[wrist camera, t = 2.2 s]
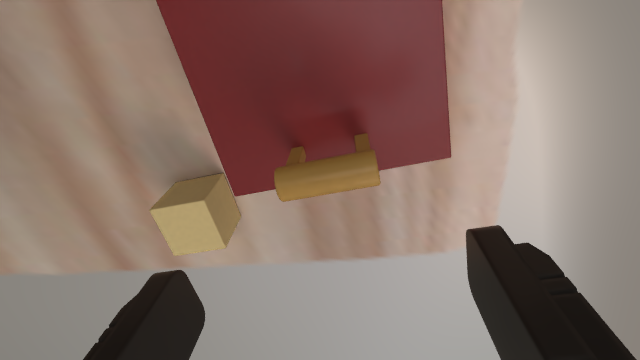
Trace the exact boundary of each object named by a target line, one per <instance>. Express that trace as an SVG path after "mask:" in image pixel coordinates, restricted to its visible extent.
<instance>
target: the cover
mask: <svg viewBox="0 0 640 360" xmlns="http://www.w3.org/2000/svg"><path fill="white" fill-rule="evenodd" d="M156 2H157V4H158V6H159V9H160V11H161V14H162V16H163V19H164V21H165V24H166V26H167V29H168V31H169V34H170V36H171V39H172V41H173V44H174V46H175V49H176V51H177V54H178V56H179V59H180V61H181V64H182V66H183V69H184V71H185V74H186V76H187V78H188V81H189V83H190V86H191V88H192V91H193V93H194V96H195V98H196V101H197V103H198V106H199V108H200V111H201V113H202V116H203V118H204V121H205V123H206V126H207V128H208V131H209V133H210V136H211V138H212V141H213V143H214V146H215V148H216V150H217V153H218V155H219V158H220V160H221V163H222V165H223V168H224V170H225V173H226V175H227V178H228V180H229V183H230V185H231V188H232V190H233V193H234V195H235V196H240V195H246V194H251V193H257V192H263V191H268V190H274V189H276V192H277V195H278V197H279V199H280V200H281V201H283V202H286V201H291V200H297V199H303V198H309V197H314V196H320V195H326V194H332V193H337V192H343V191H349V190H355V189H360V188H366V187H372V186H378V185H380V176H379V170H384V169H390V168H395V167H401V166H406V165H412V164H418V163H423V162H429V161H434V160H440V159H445V158H450V157H451V145H450V128H449V111H448V94H447V77H446V60H445V43H444V26H443V9H442V0H156Z"/></svg>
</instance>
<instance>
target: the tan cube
mask: <svg viewBox="0 0 640 360" xmlns="http://www.w3.org/2000/svg"><path fill="white" fill-rule="evenodd" d="M149 211H150V213H151V214H152V216H153V218H154V220H155V222H156V224H157V225H158V227H159V229H160V231H161V233H162V234H163V236H164V238H165V240H166V242H167V244H168V245H169V247H170V249H171V251H172V253H173V254H174V256H178V255H184V254H191V253H197V252H204V251H210V250H217V249H223V248H226V246H227V244H228V242H229V240H230V238H231V236H232V234H233V232H234V230H235V228H236V226H237V224H238V222H239V220H240V218H241V215H240V213H239V210H238V208H237V205H236V203H235V200H234V198H233V195H232V193H231V190H230V188H229V186H228V183H227V181H226V178H225V176H224V173H222V174H217V175H212V176H206V177H201V178H196V179H191V180H186V181H181V182H176V183H175V184H174V185H173V186H172V187H171V188H170V189H169V190H168V191H167V192H166V193H165V194H164V195H163V196H162V197H161V198H160V200H159V201H158V202H157V203H156V204H155V205H154V206H153V207H152V208H151V209H150V210H149Z"/></svg>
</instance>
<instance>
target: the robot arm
mask: <svg viewBox="0 0 640 360" xmlns="http://www.w3.org/2000/svg"><path fill="white" fill-rule="evenodd" d="M466 248H467V270H468V280H469V285H470V289H471V292H472V295H473V298H474V300H475V302H476V305H477V307H478V309H479V311H480V314H481V316H482V318H483V320H484V323H485V325H486V327H487V329H488V332H489V334H490V336H491V338H492V340H493V343H494V345H495V347H496V349H497V352H498V354H499V356H500V358H501V360H636V359H635V357H634V356H633V355H632V354H631V353H630V352H629V350H628V349H627V348H626V347H625V346H624V345H623V343H622V342H621V341H620V340H619V339H618V337H617V336H616V335H615V334H614V333H613V331H612V330H611V329H610V328H609V327H608V325H607V324H606V323H605V322H604V321H603V319H602V318H601V317H600V316H599V315H598V313H597V312H596V311H595V310H594V309H593V307H592V306H591V305H590V304H589V303H588V302H587V300H586V299H585V298H584V297H583V295H582V294H581V293H578V292H577V288H576V287H575V286H574V285H573V284H572V282H571V281H570V280H569V279H568V278H567V277H565V276H564V273H563V272H562V270H561V269H560V268H559V267H558V266H557V264H556V263H555V262H554V261H553V260H552V258H551V257H550V256H549V255H547V254H545V253H544V252H542V251H541V250H539V249H537V248H536V247H534V246H533V245H531V244H529V243H521V244H514V243H513V242H512V241H511V239H510V238H509V237H508V235H507V234H506V232H505V231H504V230H503V229H502V227H501V226H499V225H496V226H489V227H482V228H475V229H468V230H467V232H466ZM204 322H205V311H204V307H203V305H202V303H201V301H200V299H199V297H198V295H197V293H196V292H195V290H194V288H193V286H192V284H191V283H190V281H189V279H188V277H187V275H186V274H185V272H183V271H182V270H175V271H168V272H161V273H155V274H153V275H152V276H151V277H150V278H149V280H148V281H147V282H146V284H145V285H144V286H143V288H142V289H141V290H140V292H139V293H138V294H137V295H136V296H135V297H134V298H133V299H132V300H130V301H129V302H128V303H127V304H126V305H125V306H124V307H123V308H122V309H121V310H120V311H119V312H118V314H117V315H116V317H115V318H114V319H113V321H112V322H111V323H110V325H109V328H108V329H106V330H105V331H104V332H103V334H102V335H101V336H100V338H99V342H98V343H95V344H94V346H93V347H92V348H91V350H90V351H89V352H88V354H87V355H86V356H85V358H84V359H83V360H189V358H190V356H191V354H192V351H193V349H194V347H195V345H196V342H197V340H198V338H199V336H200V334H201V331H202V329H203V326H204Z"/></svg>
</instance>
